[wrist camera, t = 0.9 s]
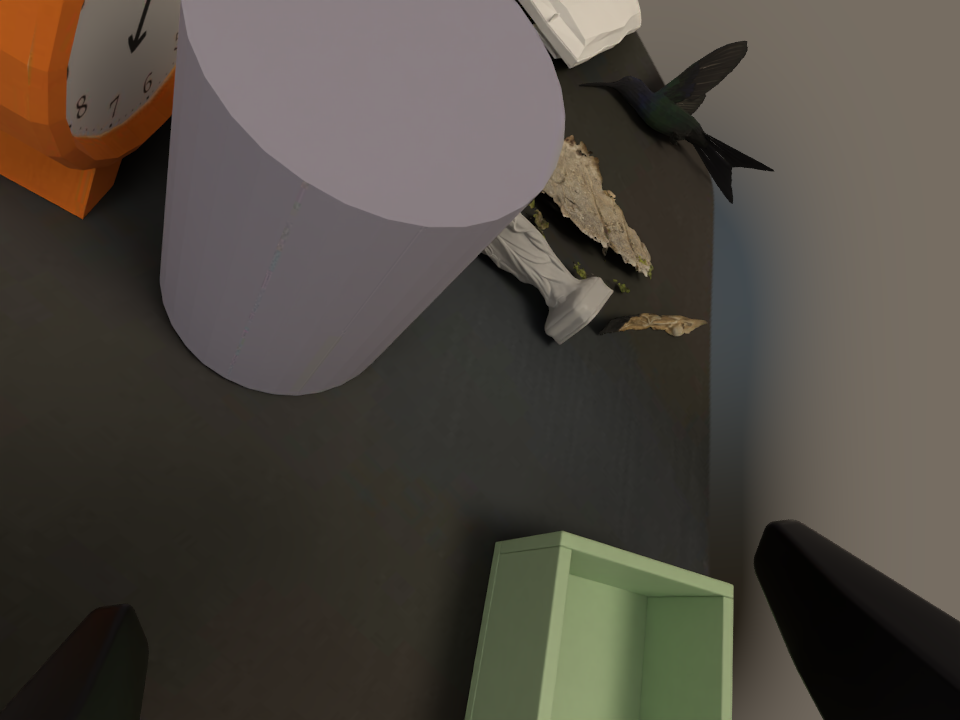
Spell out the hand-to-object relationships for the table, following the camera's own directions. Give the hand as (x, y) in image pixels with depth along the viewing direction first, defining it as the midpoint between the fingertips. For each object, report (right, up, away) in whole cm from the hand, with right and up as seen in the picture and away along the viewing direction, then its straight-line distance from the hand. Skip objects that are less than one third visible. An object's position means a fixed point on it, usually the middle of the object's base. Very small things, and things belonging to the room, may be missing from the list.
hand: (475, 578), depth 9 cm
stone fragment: (+4, +11, +31) cm, 33 cm away
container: (-9, +6, +20) cm, 23 cm away
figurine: (+3, +11, +26) cm, 28 cm away
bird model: (+16, +14, +35) cm, 41 cm away
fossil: (+8, +4, +30) cm, 31 cm away
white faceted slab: (+9, +28, +34) cm, 44 cm away
